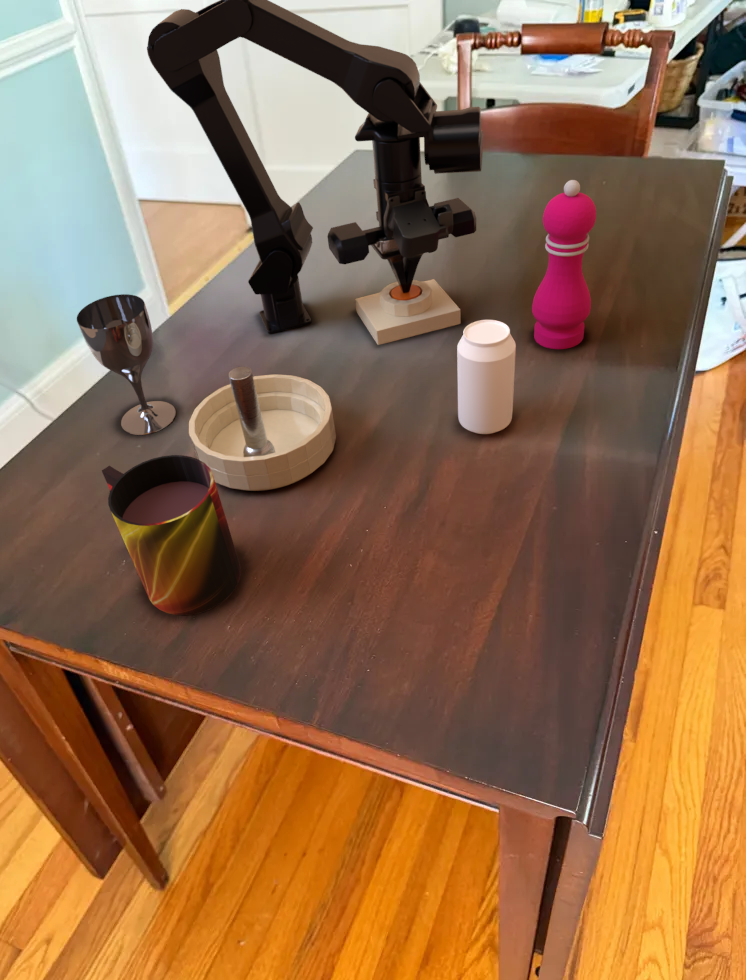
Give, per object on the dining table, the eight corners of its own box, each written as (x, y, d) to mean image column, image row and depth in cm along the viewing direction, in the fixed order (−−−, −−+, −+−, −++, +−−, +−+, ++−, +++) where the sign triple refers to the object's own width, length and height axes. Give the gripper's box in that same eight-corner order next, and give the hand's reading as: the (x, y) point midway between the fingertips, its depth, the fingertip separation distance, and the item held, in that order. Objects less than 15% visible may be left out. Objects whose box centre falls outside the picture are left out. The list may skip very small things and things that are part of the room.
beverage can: (507, 441, 88) (511, 348, 80) (453, 436, 90) (451, 345, 82) (515, 409, 92) (520, 317, 84) (463, 405, 94) (462, 315, 86)
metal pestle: (248, 456, 90) (224, 364, 81) (279, 454, 90) (258, 361, 81) (245, 477, 87) (220, 384, 79) (276, 474, 87) (255, 381, 79)
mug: (134, 535, 84) (97, 448, 76) (253, 549, 81) (229, 458, 72) (93, 603, 78) (47, 515, 70) (220, 621, 74) (189, 531, 66)
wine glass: (189, 402, 102) (157, 296, 91) (160, 440, 96) (122, 331, 86) (137, 396, 104) (99, 292, 93) (106, 433, 99) (62, 326, 88)
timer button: (388, 300, 110) (387, 288, 109) (415, 293, 110) (414, 281, 109) (397, 312, 107) (396, 301, 106) (424, 305, 108) (424, 294, 106)
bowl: (189, 429, 97) (179, 395, 94) (317, 395, 99) (311, 361, 96) (210, 511, 86) (199, 476, 82) (354, 471, 88) (349, 436, 84)
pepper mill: (587, 352, 99) (607, 192, 85) (529, 351, 101) (538, 194, 87) (586, 322, 104) (605, 166, 90) (531, 322, 106) (540, 169, 92)
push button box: (356, 312, 113) (353, 286, 110) (434, 292, 115) (433, 267, 112) (378, 345, 106) (375, 318, 103) (460, 324, 108) (460, 297, 105)
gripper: (344, 214, 90) (357, 335, 101) (495, 179, 92) (492, 301, 103) (319, 182, 98) (334, 297, 109) (459, 150, 100) (460, 266, 111)
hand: (405, 291), depth 108 cm, fingers closed, pressing on timer button
